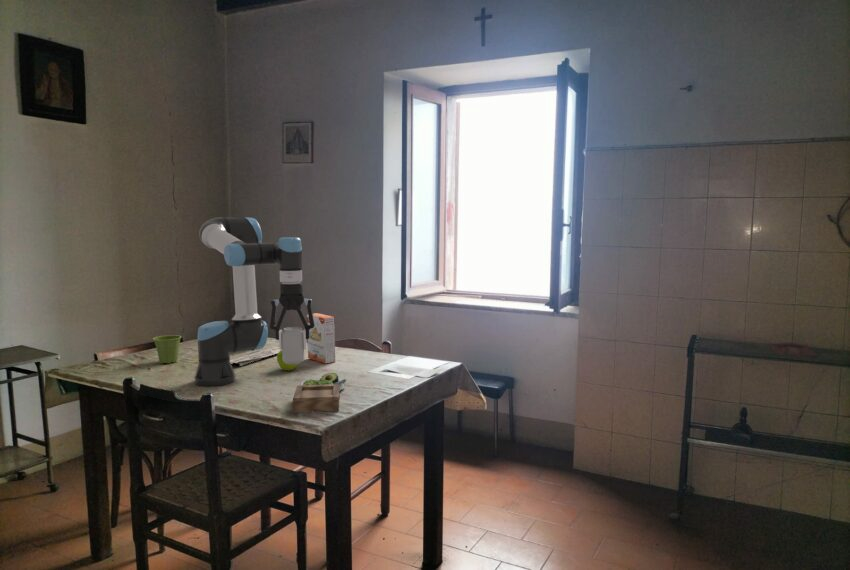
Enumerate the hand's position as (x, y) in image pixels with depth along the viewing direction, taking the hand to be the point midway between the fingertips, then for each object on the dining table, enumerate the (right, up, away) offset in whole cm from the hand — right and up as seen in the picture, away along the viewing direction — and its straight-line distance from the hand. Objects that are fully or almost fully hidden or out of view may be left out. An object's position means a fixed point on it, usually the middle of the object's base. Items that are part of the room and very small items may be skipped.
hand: (293, 348), depth 207 cm
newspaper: (-32, -13, +69) cm, 78 cm away
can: (0, -5, +1) cm, 5 cm away
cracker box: (-2, -13, +65) cm, 67 cm away
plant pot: (-70, -13, +62) cm, 94 cm away
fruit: (-13, -14, +49) cm, 53 cm away
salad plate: (+7, -18, +22) cm, 29 cm away
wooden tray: (+8, -20, +1) cm, 21 cm away
